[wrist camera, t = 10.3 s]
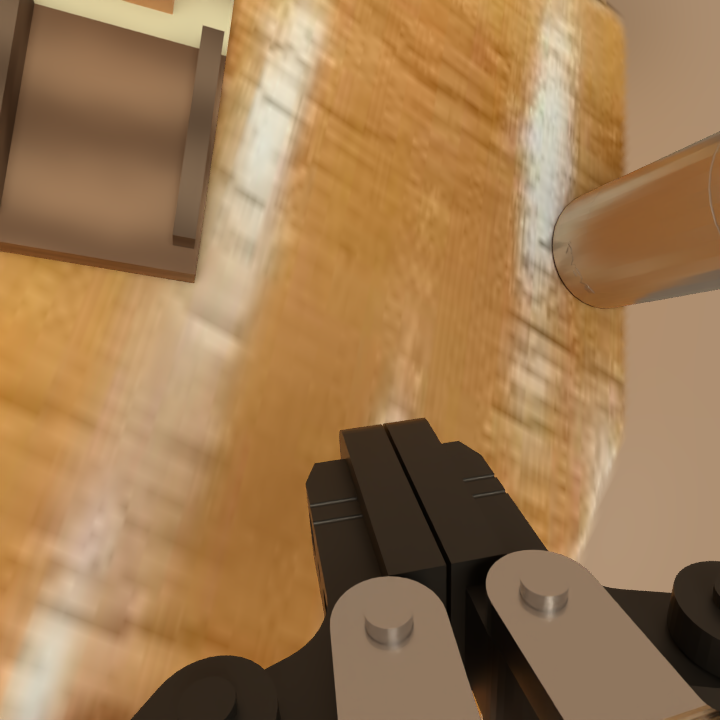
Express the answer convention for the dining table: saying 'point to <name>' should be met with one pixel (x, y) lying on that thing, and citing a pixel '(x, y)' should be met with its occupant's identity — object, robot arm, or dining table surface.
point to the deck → (109, 130)
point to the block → (155, 4)
